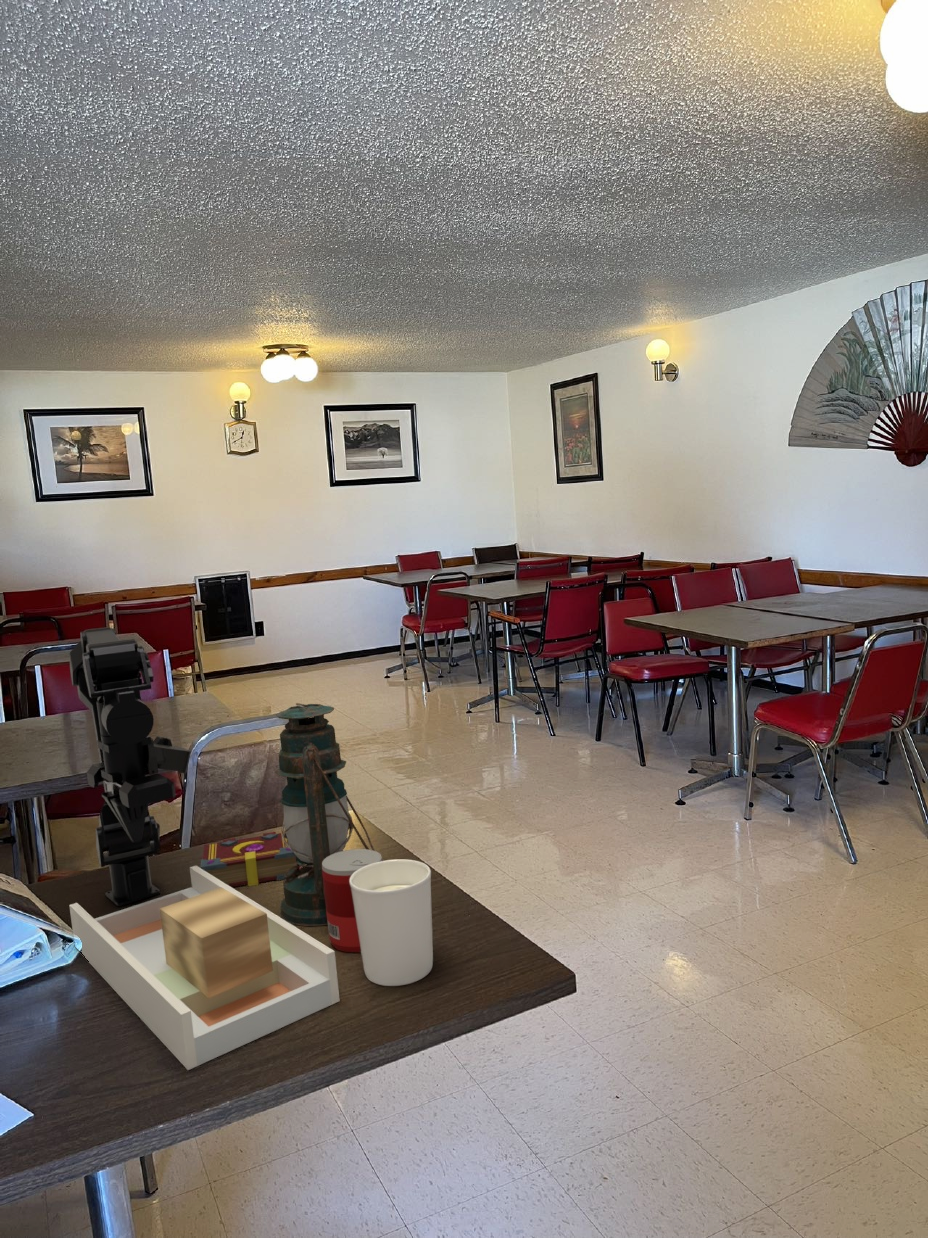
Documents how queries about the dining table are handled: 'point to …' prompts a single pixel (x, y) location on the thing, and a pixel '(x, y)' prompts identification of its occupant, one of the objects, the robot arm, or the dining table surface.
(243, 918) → the wooden block
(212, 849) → the decorative book
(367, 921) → the candle holder
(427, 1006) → the dining table surface
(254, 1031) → the tray
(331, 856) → the canned food
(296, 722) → the lantern
